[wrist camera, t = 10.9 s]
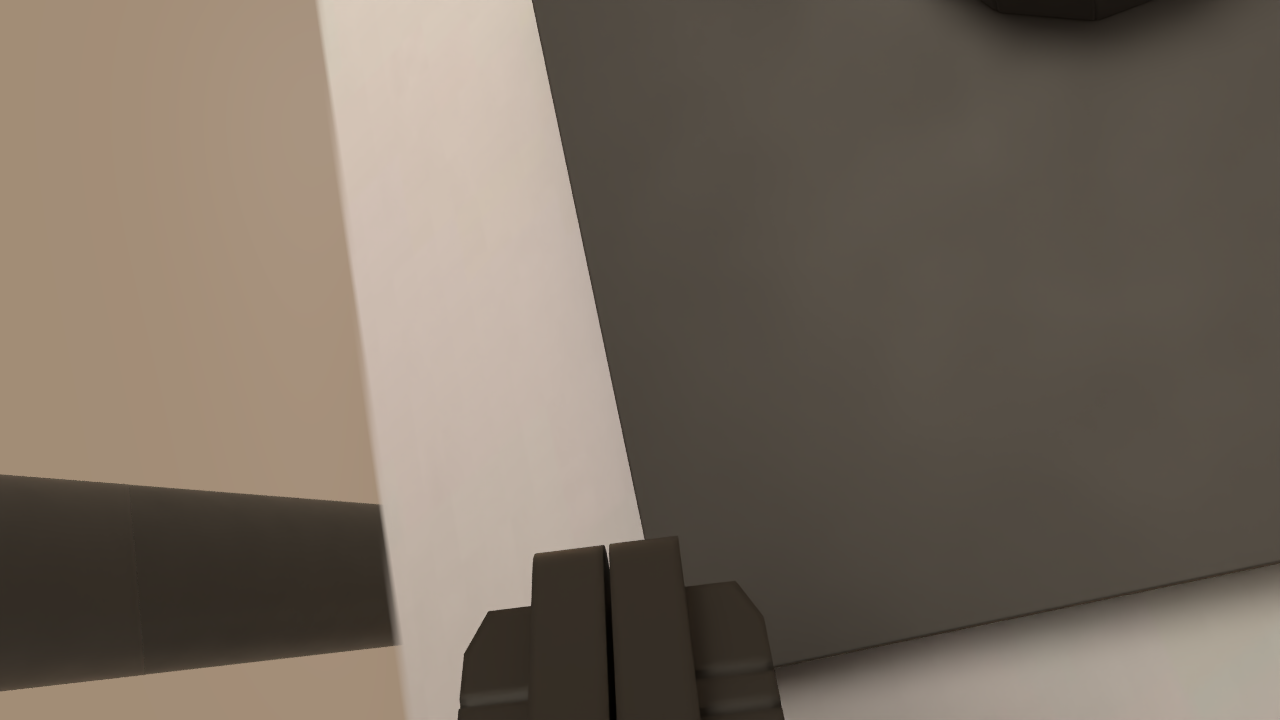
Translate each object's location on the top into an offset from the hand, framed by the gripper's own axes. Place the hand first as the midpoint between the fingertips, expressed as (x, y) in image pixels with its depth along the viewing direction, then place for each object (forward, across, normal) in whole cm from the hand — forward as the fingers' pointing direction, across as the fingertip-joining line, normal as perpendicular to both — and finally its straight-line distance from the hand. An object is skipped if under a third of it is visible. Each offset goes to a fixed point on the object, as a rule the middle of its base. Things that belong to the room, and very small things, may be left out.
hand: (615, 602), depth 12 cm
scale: (+11, -6, +2) cm, 13 cm away
